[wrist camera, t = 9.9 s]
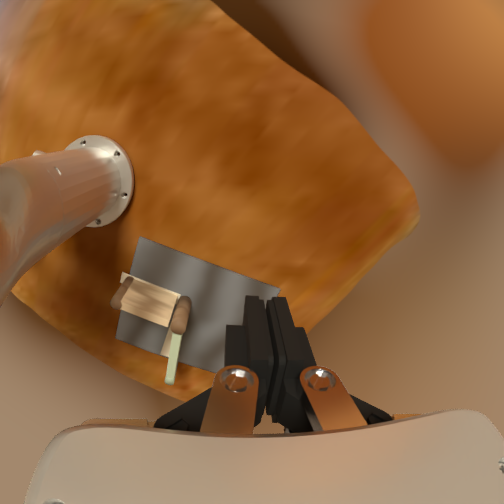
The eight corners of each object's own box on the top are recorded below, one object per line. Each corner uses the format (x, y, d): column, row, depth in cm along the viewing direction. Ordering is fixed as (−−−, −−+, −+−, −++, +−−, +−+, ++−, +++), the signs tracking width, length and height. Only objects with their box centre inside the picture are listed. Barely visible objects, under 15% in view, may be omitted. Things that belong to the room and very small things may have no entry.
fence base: (110, 334, 44) (96, 361, 38) (133, 233, 38) (115, 252, 32) (231, 375, 49) (231, 405, 42) (279, 288, 43) (287, 315, 36)
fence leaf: (178, 309, 42) (171, 334, 36) (187, 311, 42) (181, 337, 37) (170, 357, 46) (164, 383, 40) (178, 359, 46) (173, 385, 40)
